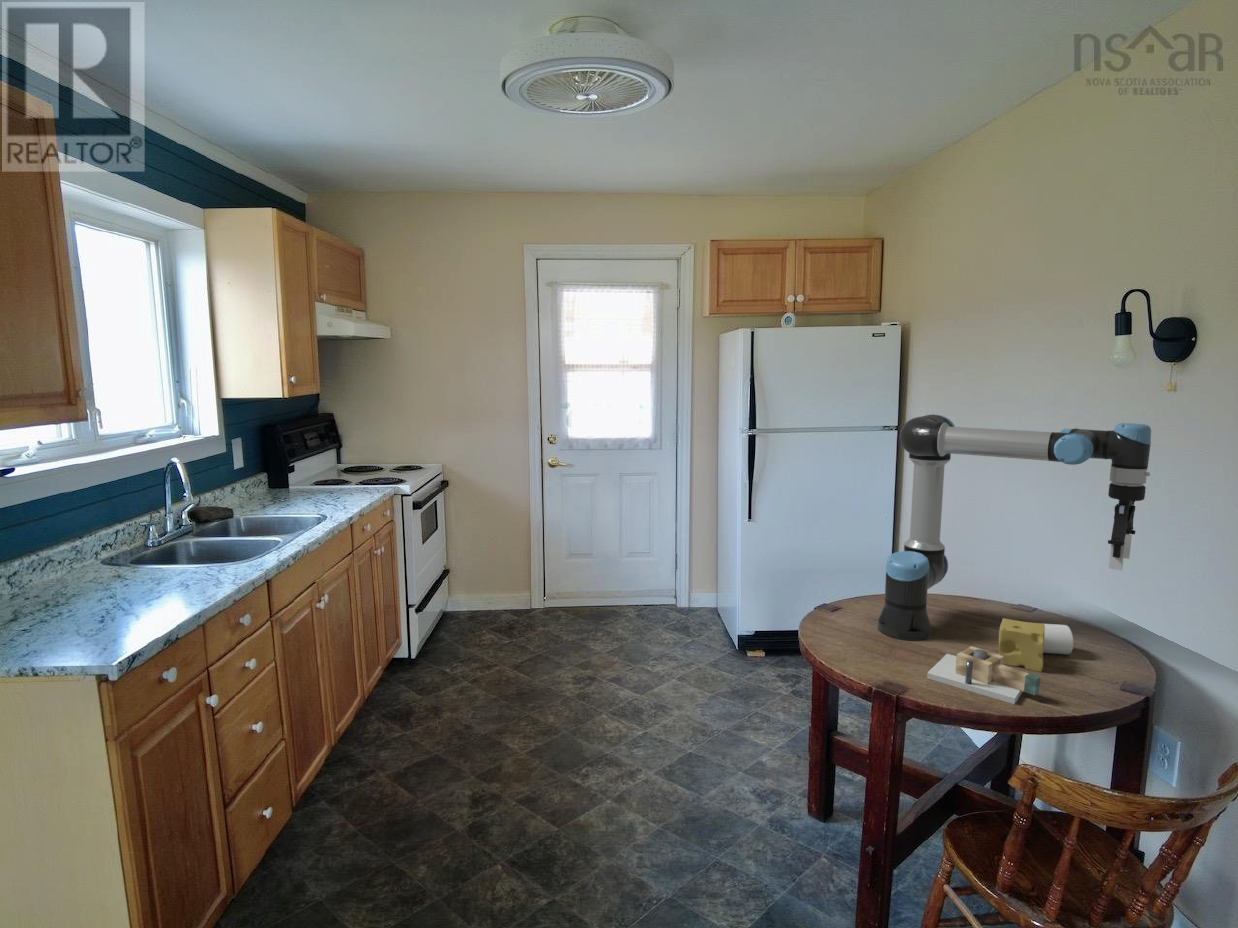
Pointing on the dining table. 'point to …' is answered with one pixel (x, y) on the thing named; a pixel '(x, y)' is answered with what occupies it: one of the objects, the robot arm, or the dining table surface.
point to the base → (947, 675)
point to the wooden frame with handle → (996, 671)
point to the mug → (1057, 639)
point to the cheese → (1022, 644)
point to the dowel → (969, 672)
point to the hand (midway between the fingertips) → (1119, 563)
